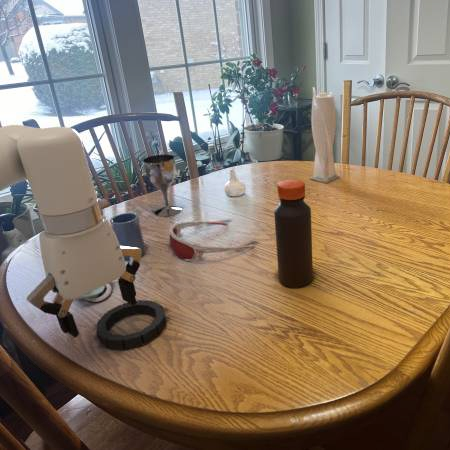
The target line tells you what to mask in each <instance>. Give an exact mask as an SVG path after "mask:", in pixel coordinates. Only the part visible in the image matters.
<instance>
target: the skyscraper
mask: <svg viewBox="0 0 450 450" xmlns="http://www.w3.org/2000/svg"><path fill="white" fill-rule="evenodd" d="M335 105H336V104H335V97H334V94H333V93H332V92H331V91H329V94H328V92H326V91H325V92H318V93H317V91H316V88H315V87H314V86H313V87H312V102H311V118H310V120H311V132H312V133H311V134H312V141H313V144H314V148H315V153H314V163H313V173H312V176H311V177H309V180H310V181H314V182H318V183H323V184H329V183H331V182H333V181H335V180H338V179H339V178H341V176H340V175H337V174H336V166H335V160H334V153H333V149H332V148H333V144H334V141H335V134H336V126H337V117H336V106H335Z"/></svg>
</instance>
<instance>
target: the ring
mask: <svg viewBox="0 0 450 450" xmlns="http://www.w3.org/2000/svg"><path fill="white" fill-rule="evenodd" d="M136 302H137V303H136V304H135V305H131V304H129V303H128V302H125V303H121V304H119V305H116V306H115V307H113V308H112V309H109V310H107V312H105V313H104V314H103V315H102V316H101V317H100V318H99V319H98V320H97V322H96V331H95V332H96V336H97V339H98V342H99V344H101V345H102V346H104V347H105V348H106V349H108V350H112V351H128V350H133V349H136V348H140V347H143V346H146V345H148V344H149V343H150V342H152V341H154V340H155V339H157V338H159V336H161V335H162V333H163V332H164V330H165V329H166V327H167V323H168V322H167V319H166V313H165V308H164V306H163V305H161V304H160V303H158V302H156V301H153V300H142V299H141V300H140V299H139V300H136ZM139 314H140V315H150V316H152V317H153V318H154V319H153V320H152V322H151V323H150V324H149V325H147V326H146V327H144V328H143V329H141V330H138V331H135V332H131V333H128V334H113V333H111V332H110V330H111V328H112V327H113V326H115V324H117V322H119V321H121V320H123V319H125V318H127V317H131V316H136V315H139Z"/></svg>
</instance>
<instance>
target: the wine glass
mask: <svg viewBox="0 0 450 450" xmlns="http://www.w3.org/2000/svg"><path fill="white" fill-rule="evenodd" d="M142 163H143V168H144V172H145V174H146V177H147V179H148V181H149V182H150V183H151V184H152V185H153V186H154V187H156V188H157V189H158V190H160V192H161V194H162V197H163V199H164V205H165V206H164V207H162V208H161V207H160V208H159V209H157V210H155V212H154V215H155V216H156V217H159V218H160V217H162V218H163V217H164V218H165V217H172V216H176V215H178V214H180V213H181V212H182V208H181V207H179V206H175V205H170V204H169V199H168V198H169V197H168V191H169V188H170V186H171V185H172V183H173V182H174V181H175V178H176V173H177V172H176V168H177V167H176V160H175V156H174V155H172V154H155V155H150V156H147V157H145V158H143V159H142Z"/></svg>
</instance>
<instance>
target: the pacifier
mask: <svg viewBox="0 0 450 450" xmlns="http://www.w3.org/2000/svg"><path fill="white" fill-rule="evenodd" d="M112 288H113V287H112V286H111V284H110V283H108V284H106V285H104V286H102V287H100V288H98V289H96V290H93V291H91V292H89V293H87V294H85V295H83V296H81V297H79V298H77V299H76V300H85V301H89V302H95V303H96V302H97V303H98V302H102V301H104V300H105V299H107V298H108V297H109V296H110V295H111V294H112ZM105 289H106V290H105ZM104 290H105V292H104ZM103 292H104V293H103ZM102 293H103V294H102ZM100 294H102V295H100ZM99 295H100V296H99Z"/></svg>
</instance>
